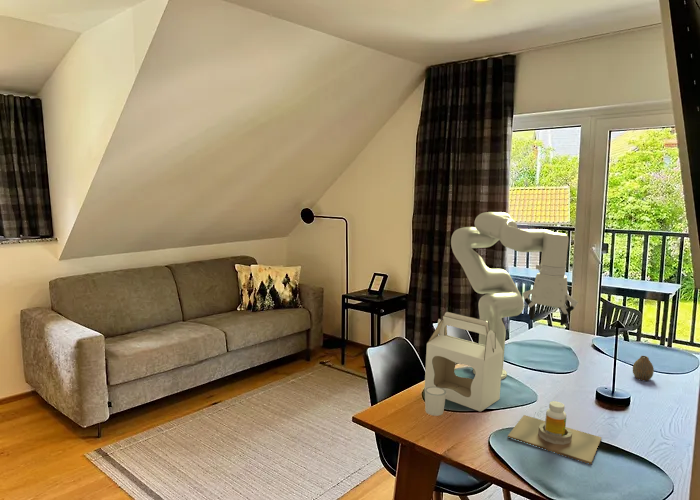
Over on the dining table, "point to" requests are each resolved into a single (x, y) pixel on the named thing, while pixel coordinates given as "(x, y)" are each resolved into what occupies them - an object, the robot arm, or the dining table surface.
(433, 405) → the white cup
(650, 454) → the dining table surface
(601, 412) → the dining table surface
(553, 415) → the supplement bottle
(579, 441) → the socket board
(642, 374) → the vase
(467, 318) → the gable box
